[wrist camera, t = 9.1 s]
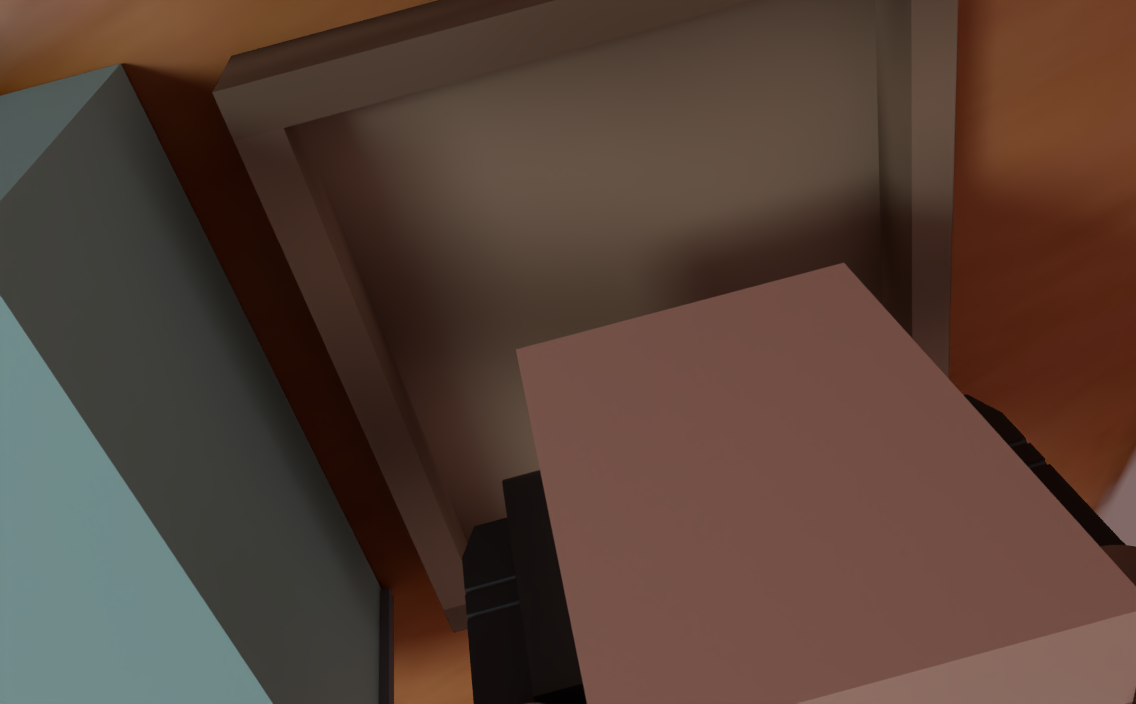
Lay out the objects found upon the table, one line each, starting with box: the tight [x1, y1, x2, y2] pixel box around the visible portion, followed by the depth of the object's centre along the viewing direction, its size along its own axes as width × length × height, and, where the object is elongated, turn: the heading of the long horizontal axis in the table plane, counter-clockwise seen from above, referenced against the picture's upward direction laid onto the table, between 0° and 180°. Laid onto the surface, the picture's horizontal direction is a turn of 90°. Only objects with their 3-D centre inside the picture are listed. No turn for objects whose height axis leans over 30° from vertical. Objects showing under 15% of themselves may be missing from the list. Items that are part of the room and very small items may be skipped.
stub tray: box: [212, 0, 958, 632], centre depth 16 cm, size 11×10×2 cm
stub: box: [516, 263, 1136, 704], centre depth 11 cm, size 5×4×6 cm
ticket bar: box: [0, 64, 394, 704], centre depth 14 cm, size 12×5×6 cm, turn 12°
